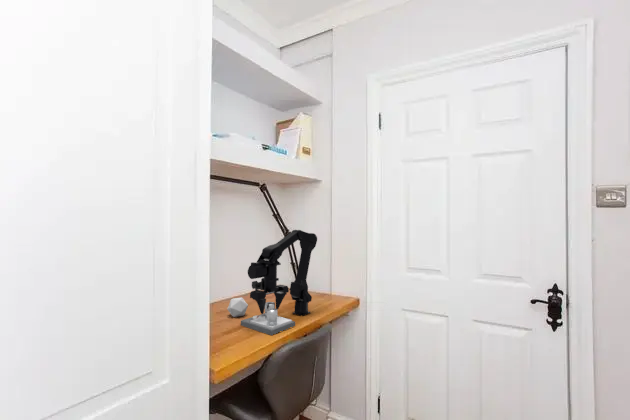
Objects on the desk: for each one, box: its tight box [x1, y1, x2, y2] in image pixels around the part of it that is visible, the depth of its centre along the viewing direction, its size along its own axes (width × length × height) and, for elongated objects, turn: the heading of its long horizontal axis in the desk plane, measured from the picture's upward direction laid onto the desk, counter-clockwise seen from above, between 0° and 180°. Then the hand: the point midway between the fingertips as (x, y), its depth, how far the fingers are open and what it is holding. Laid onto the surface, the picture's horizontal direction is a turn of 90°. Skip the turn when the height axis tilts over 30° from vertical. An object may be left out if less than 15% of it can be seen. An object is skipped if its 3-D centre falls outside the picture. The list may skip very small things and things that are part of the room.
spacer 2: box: [267, 307, 279, 326], centre depth 135 cm, size 4×4×6 cm
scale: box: [240, 312, 296, 336], centre depth 142 cm, size 14×19×3 cm
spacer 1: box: [264, 301, 276, 318], centre depth 146 cm, size 4×4×6 cm
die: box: [226, 297, 249, 318], centre depth 156 cm, size 8×9×10 cm
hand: (269, 311), depth 146 cm, fingers open, 9 cm apart
